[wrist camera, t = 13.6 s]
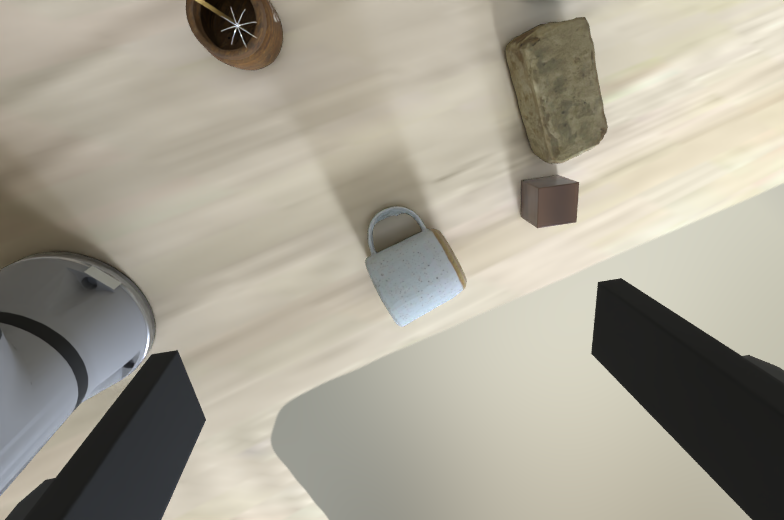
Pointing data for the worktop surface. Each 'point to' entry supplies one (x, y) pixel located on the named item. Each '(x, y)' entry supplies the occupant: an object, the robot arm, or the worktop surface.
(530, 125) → the stone block
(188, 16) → the utensil holder
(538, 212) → the walnut block
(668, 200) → the worktop surface
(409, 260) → the ceramic mug
